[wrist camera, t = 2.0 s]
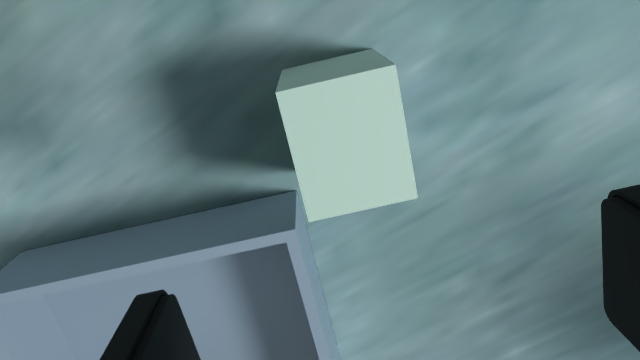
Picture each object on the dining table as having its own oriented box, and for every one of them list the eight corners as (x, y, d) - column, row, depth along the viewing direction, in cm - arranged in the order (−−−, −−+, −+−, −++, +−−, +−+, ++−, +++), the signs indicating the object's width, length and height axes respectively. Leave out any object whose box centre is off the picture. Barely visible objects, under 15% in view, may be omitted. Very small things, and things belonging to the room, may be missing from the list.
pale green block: (282, 69, 26) (275, 92, 20) (372, 48, 26) (395, 64, 20) (307, 171, 28) (308, 222, 22) (391, 152, 28) (417, 198, 22)
